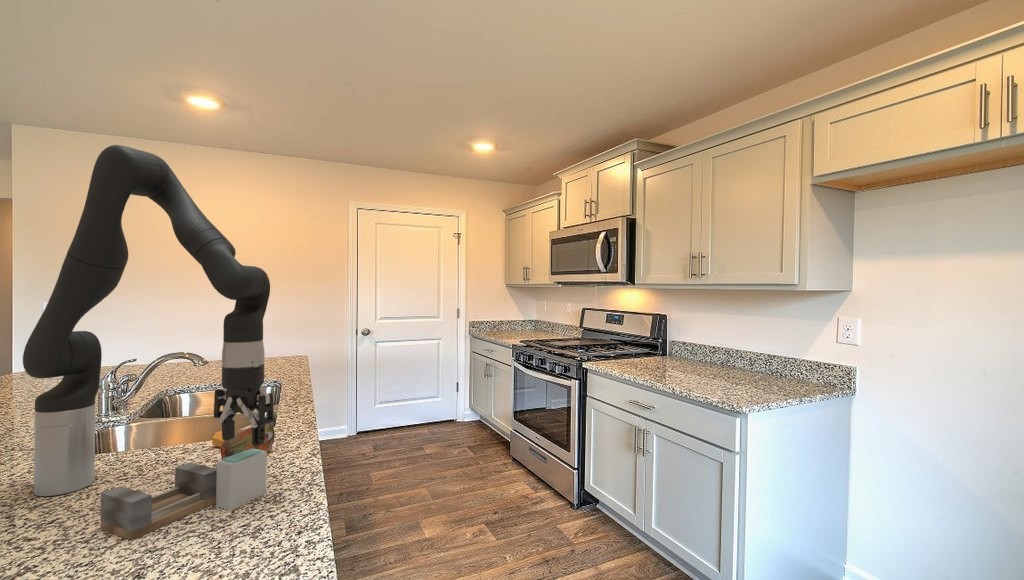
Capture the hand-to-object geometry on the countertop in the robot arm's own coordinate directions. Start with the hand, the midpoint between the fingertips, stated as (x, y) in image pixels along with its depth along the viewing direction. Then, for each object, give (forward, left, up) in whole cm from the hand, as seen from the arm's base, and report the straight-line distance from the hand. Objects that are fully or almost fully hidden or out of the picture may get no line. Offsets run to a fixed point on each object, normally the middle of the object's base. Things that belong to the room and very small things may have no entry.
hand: (243, 442), depth 92 cm
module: (0, 0, -12) cm, 12 cm away
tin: (-18, +15, -12) cm, 26 cm away
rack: (-8, -10, -12) cm, 18 cm away
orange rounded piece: (-25, +19, -12) cm, 34 cm away
